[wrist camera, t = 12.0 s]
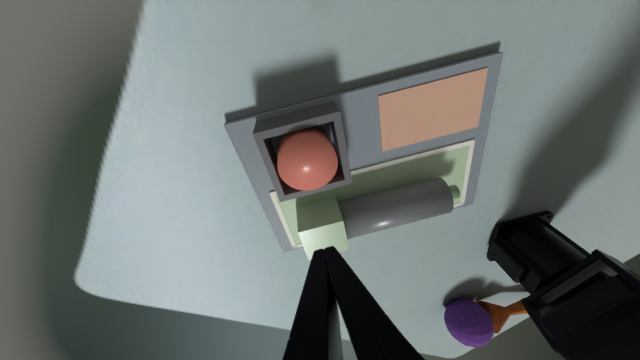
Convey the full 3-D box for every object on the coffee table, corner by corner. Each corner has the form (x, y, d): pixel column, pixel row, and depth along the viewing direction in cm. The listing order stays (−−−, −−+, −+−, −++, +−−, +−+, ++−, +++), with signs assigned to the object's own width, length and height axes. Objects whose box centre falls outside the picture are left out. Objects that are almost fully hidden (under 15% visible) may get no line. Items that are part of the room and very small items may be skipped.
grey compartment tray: (496, 51, 17) (533, 55, 14) (469, 200, 25) (490, 219, 22) (225, 122, 17) (215, 138, 14) (283, 248, 25) (283, 272, 22)
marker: (446, 165, 21) (472, 187, 18) (443, 195, 23) (466, 219, 20) (295, 204, 21) (297, 232, 18) (305, 231, 23) (308, 259, 20)
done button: (325, 116, 17) (331, 130, 15) (335, 164, 19) (342, 182, 17) (270, 131, 17) (268, 146, 15) (286, 177, 19) (287, 196, 17)
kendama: (566, 323, 37) (454, 356, 34) (534, 285, 41) (431, 311, 38) (598, 310, 33) (473, 346, 30) (558, 269, 37) (445, 297, 34)
